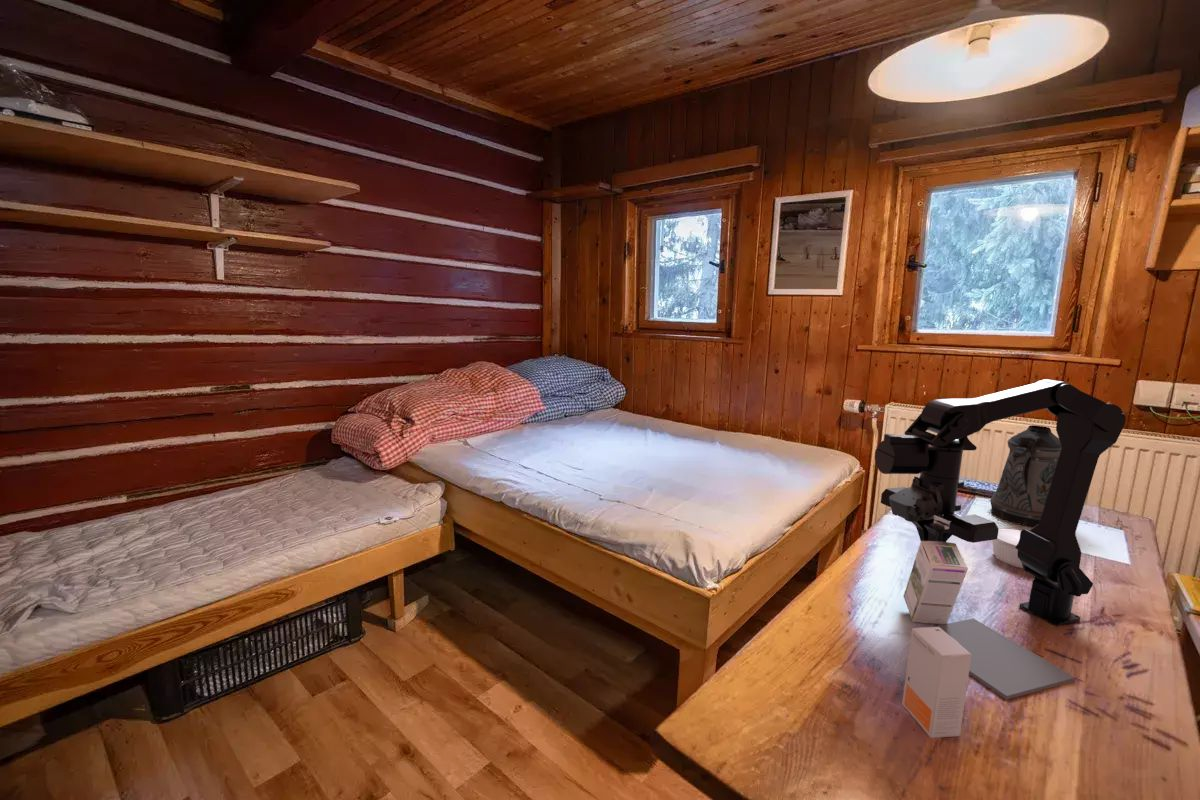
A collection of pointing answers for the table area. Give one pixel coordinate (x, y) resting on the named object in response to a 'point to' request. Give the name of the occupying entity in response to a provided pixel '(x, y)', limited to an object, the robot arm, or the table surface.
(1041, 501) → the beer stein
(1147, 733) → the table surface
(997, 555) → the ramekin
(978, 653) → the mat
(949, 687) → the skincare box
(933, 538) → the robot arm
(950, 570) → the syrup box
